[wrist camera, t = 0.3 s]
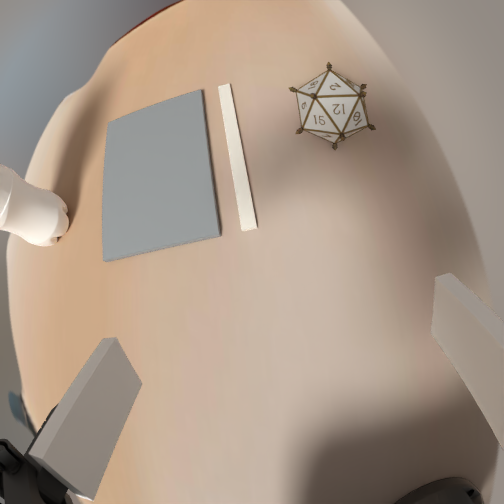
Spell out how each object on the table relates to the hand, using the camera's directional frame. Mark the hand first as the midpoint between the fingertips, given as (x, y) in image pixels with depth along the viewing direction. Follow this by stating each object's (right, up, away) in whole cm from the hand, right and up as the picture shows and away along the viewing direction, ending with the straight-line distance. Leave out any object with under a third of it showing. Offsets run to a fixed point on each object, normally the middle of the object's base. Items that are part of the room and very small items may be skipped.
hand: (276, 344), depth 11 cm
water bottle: (-28, +7, +24) cm, 37 cm away
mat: (-13, +13, +22) cm, 29 cm away
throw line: (-3, +15, +21) cm, 26 cm away
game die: (+8, +17, +20) cm, 28 cm away
